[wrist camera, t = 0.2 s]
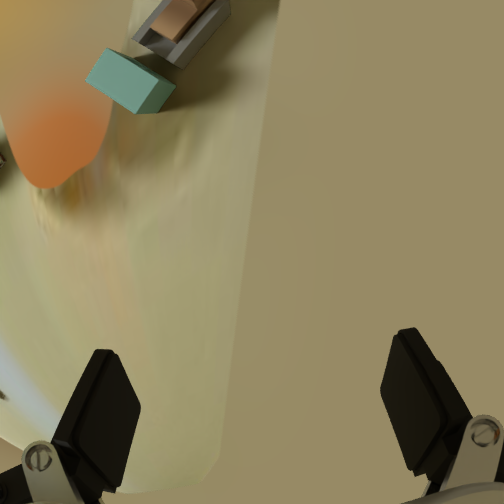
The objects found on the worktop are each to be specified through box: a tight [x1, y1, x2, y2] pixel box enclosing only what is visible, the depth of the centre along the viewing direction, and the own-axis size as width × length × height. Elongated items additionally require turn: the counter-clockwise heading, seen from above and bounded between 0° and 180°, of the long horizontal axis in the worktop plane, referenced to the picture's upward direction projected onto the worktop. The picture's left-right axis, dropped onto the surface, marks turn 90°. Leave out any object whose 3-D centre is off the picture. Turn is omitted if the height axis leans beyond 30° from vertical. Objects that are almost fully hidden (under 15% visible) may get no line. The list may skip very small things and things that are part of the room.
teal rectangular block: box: [85, 48, 176, 114], centre depth 29 cm, size 4×7×8 cm, turn 52°
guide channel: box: [132, 0, 231, 70], centre depth 28 cm, size 9×6×5 cm, turn 142°
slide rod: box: [150, 0, 216, 44], centre depth 22 cm, size 7×3×9 cm, turn 142°
